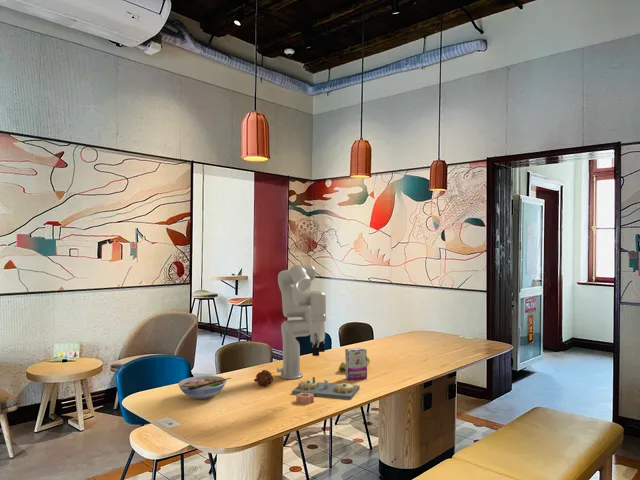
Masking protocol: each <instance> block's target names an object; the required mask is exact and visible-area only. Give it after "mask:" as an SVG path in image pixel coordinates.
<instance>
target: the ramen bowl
mask: <svg viewBox="0 0 640 480" xmlns="http://www.w3.org/2000/svg"><path fill="white" fill-rule="evenodd" d="M230 379H231V377H229V378H225V377H222V376H219V375H198V376H197V375H196V376H192V377H191V376H190V377H187V378H185V379H182V380H180V381H179V382H178V387H179V389H180V390H181V392H182V393H183V394H185V395H187V396H188V397H190V398H193V399H196V400H206V399H210V398H211V397H213V396H215V395H217V394H218V393H220V391H221V390H222V389H223V388H225V385H226V383H227V380H230Z"/></svg>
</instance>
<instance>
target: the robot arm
mask: <svg viewBox="0 0 640 480" xmlns="http://www.w3.org/2000/svg"><path fill="white" fill-rule="evenodd" d="M316 276H317V271H316V268H315V267H314V265H312V264H295V265H293V266H291V267H290V268H289V269H285V270H281V271H280V272H279V273H278V275H277V283H278V288H279V290H280V293H281V302H282V303H281V304H282V305H281V306H282V314H283V317H285V318H291V319H287V320H285V321H283V322H282V323H281V325H280V330H281V336H282V368H281V367H276V372H277V373H280V375H279V376H280V378H281V379H284V380H297V379H298V380H299V379H301V378H302V377H303V373H302V372H301V357H300V356H301V354H300V353H301V352H300V351H301V349H300V348H301V347H300V346H301V345H300V342H299V341H298V340H297V339H296V338H298V337H308V336H310V337H309V338H310V339H309V341H310V343H311V344H312V345H311V353H312V354H311V355H312V357H319V356H320V353H324V352H325V348H326V347H325V345H326V344H325V343H326V341H325V339H326V327H325V325H326V324H325V322H326V321H327V303H326V302H327V298H326V297H327V295H326V293H325V292H321V291H320V290H312V291H311V290H309V288H310V287H311V286H312V281H314V280H315V279H316ZM292 285H293V286H292ZM307 290H309V291H307ZM292 318H301V319H292Z"/></svg>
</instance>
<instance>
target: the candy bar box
mask: <svg viewBox="0 0 640 480" xmlns="http://www.w3.org/2000/svg"><path fill="white" fill-rule="evenodd" d="M344 352H345V353H344V354H345V364H346V370H345V378H346V380H347V381H357V380H368V379H367V378H368V366H367V357H368V356H367V353H368V352H367V348H365V347H358V348H357V347H356V348H355V347H354V348H346V349H344Z"/></svg>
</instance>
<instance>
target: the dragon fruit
mask: <svg viewBox="0 0 640 480" xmlns="http://www.w3.org/2000/svg"><path fill="white" fill-rule="evenodd" d="M253 380H254V382H255V383H258V386H260V387H261V386H264V387H268V386H269V385H271V384H272V382H273V381H274V376H273V375H272V373H271V372H270V371H269V370H265V369H262V371H259V372H258V373H256V375H255V378H254V379H253Z"/></svg>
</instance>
